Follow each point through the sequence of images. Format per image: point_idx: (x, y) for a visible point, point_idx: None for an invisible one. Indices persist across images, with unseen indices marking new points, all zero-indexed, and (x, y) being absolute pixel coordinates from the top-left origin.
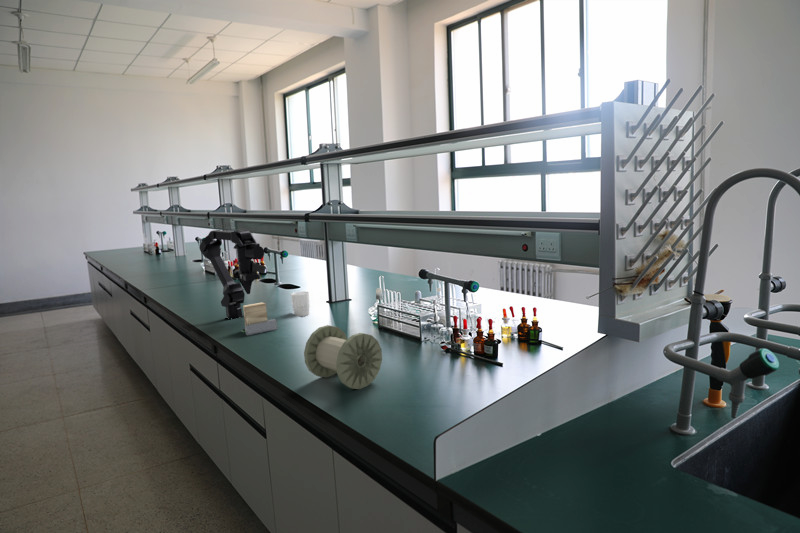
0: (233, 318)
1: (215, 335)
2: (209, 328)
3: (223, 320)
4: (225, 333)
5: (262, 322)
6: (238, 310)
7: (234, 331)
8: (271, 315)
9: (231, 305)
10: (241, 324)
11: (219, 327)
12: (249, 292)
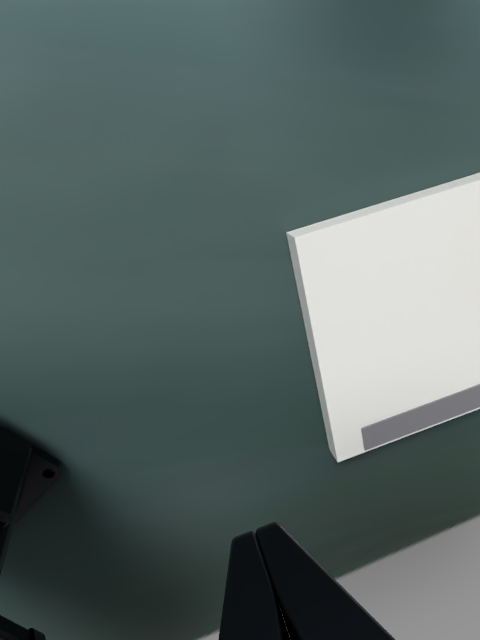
0: (40, 482)
1: (467, 507)
2: None
3: (20, 549)
4: (466, 460)
5: None
6: (3, 493)
7: None
8: (8, 49)
9: (1, 620)
10: (279, 386)
11: None
12: (300, 555)
